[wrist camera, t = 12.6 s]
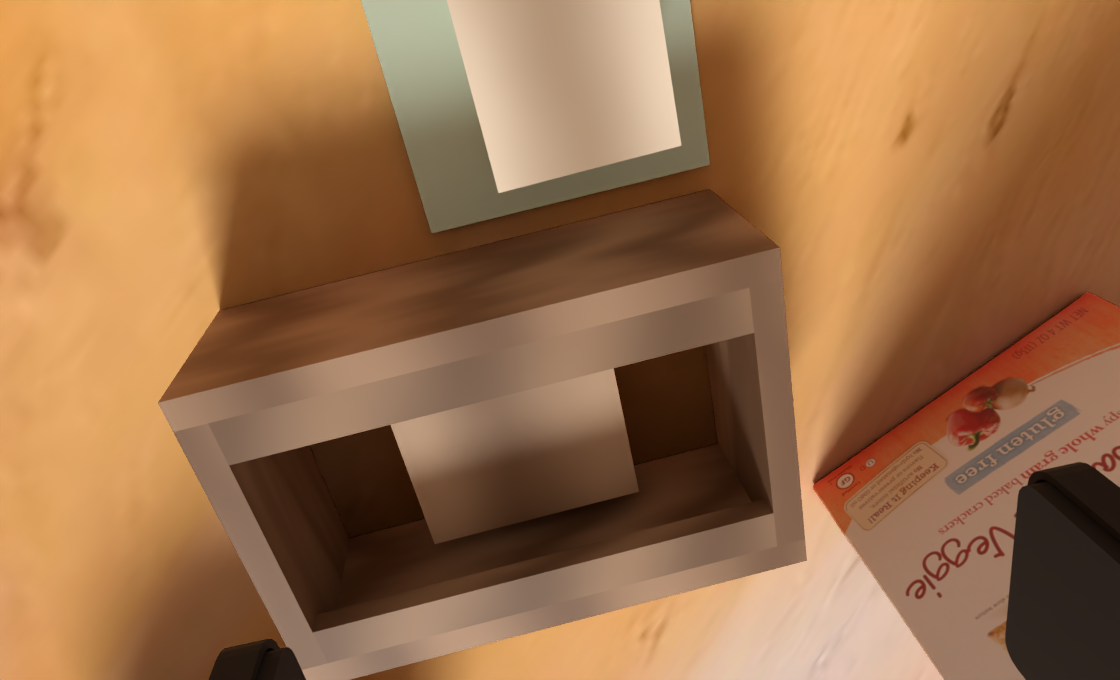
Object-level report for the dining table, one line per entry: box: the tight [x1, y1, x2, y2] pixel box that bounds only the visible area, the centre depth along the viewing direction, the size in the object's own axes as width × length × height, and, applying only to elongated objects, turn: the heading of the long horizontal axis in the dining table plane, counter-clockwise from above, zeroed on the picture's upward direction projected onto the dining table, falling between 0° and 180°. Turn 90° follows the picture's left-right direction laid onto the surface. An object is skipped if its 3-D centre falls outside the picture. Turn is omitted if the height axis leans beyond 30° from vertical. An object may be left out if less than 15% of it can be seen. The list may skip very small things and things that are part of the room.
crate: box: [158, 189, 807, 680], centre depth 27 cm, size 18×12×6 cm, turn 102°
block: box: [447, 0, 681, 193], centre depth 22 cm, size 5×5×6 cm
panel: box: [361, 0, 710, 234], centre depth 25 cm, size 10×10×1 cm
